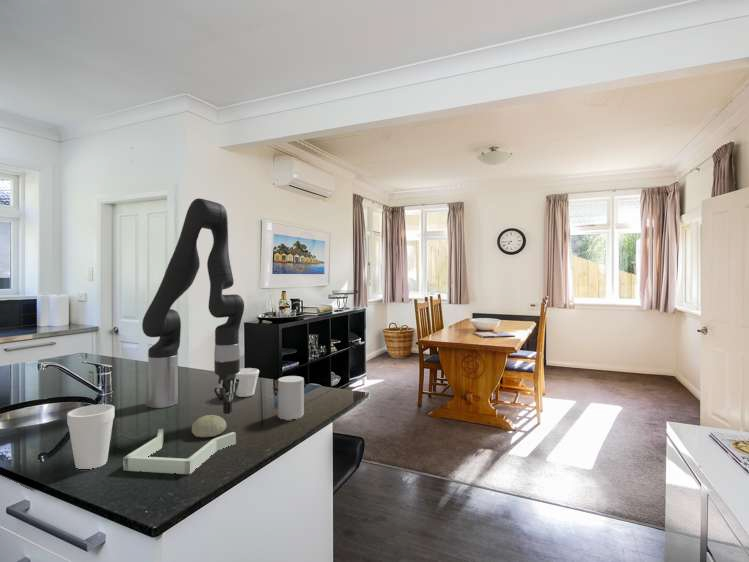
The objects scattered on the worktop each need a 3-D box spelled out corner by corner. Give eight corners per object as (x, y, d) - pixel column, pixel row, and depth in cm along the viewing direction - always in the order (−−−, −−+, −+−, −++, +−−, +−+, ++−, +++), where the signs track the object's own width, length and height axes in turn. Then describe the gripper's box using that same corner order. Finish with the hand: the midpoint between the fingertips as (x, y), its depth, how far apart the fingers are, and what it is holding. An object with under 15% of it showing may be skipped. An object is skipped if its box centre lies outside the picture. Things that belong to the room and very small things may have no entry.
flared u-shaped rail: (111, 469, 97) (111, 457, 97) (159, 439, 115) (159, 428, 115) (202, 475, 95) (202, 462, 95) (236, 443, 113) (236, 432, 113)
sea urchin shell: (217, 434, 114) (198, 412, 115) (199, 452, 115) (181, 430, 116) (234, 422, 123) (217, 402, 124) (218, 439, 124) (201, 419, 125)
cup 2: (308, 413, 137) (308, 377, 137) (295, 421, 130) (295, 383, 129) (286, 410, 140) (286, 375, 140) (273, 418, 132) (273, 380, 132)
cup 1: (260, 397, 154) (260, 372, 154) (232, 400, 151) (232, 375, 151) (257, 390, 164) (257, 367, 164) (230, 393, 160) (230, 369, 160)
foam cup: (83, 456, 104) (83, 404, 104) (122, 454, 105) (122, 403, 105) (58, 474, 95) (57, 417, 95) (100, 472, 96) (100, 416, 95)
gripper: (225, 354, 138) (225, 406, 138) (205, 362, 124) (205, 419, 125) (247, 354, 137) (247, 406, 137) (229, 362, 124) (229, 420, 124)
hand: (227, 412), depth 131 cm, fingers closed
